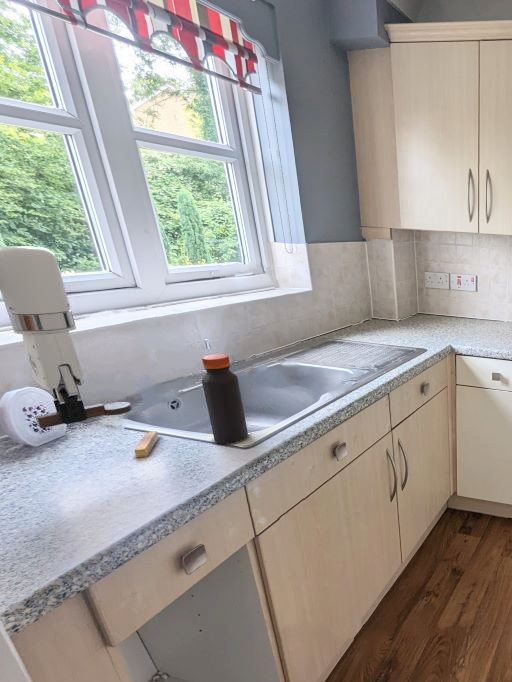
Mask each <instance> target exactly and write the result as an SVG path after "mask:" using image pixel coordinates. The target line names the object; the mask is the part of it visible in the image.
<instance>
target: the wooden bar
mask: <svg viewBox="0 0 512 682" xmlns="http://www.w3.org/2000/svg"><path fill="white" fill-rule="evenodd" d="M158 439H159V435H158V430H154V431H147V432H146V433H145V434H144V436H143V437H142V439H140V441H139V443H138V444H137V445H136V447H135V448H134V454H135V458H145V457H148V456H149V454H150V452H151V451H152V449H153V447H154V446H155V444H156V443H157V441H158Z"/></svg>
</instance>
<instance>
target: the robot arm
mask: <svg viewBox="0 0 512 682" xmlns="http://www.w3.org/2000/svg"><path fill="white" fill-rule="evenodd" d="M0 294H1V297H2V299H3V303H4V306H5V309H6V312H7V315H8V318H9V320H10V324H11V326H12V331H13V333H14V334H18V335H22V342H23V346H24V349H25V352H26V357H27V360H28V363H29V367H30V371H31V375H32V378H33V381H34V382H35V383H36V384H38V385H39V386H40V387H42V388H43V389H44V390H47V391H50V392H51V396H52V398H53V401H52V402H53V405H54V407H55V412H60V414H61V417H62V421H63V423H64V424H63V425H70V424H74V423H79V422H85V421H87V420H88V419H87V415H86V412H85V408H84V407H85V405H84V401H83V399H82V397H81V394H80V393H81V392H80V390H79V387H80V386H82V385H84V383H85V379H84V374H83V371H82V367H81V363H80V360H79V356H78V353H77V351H76V347H75V345H74V341H73V339H72V336H71V334H70V332H71V331H74V330H76V329H77V325H76V323H75V322H76V321H75V320H74V316H73V312H72V308H71V305H70V302H69V298H68V294H67V290H66V287H65V283H64V280H63V277H62V273H61V269H60V265H59V263H58V259H57V256H56V255H55V253H54V252H53V251H51V250H50V249H48V248H45V247H39V246H29V245H28V246H25V245H24V246H23V245H22V246H21V245H4V246H0Z"/></svg>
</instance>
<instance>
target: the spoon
mask: <svg viewBox="0 0 512 682" xmlns="http://www.w3.org/2000/svg"><path fill="white" fill-rule="evenodd" d="M84 408H85V412H86V415H87V420H88V419H93V418H98V417H103V416H117V415H123V414H126V413H128V412H131V411H132V404H131V402H128V401H116V402H110V403H107V404H103V403H101V402H99V403H95V404H91V405H86V406H85V405H84ZM35 420H36V423H37V426H38V427H39V429H41V430H42V429H45V428H50V427H51V428H52V427H55V426H60V425H65V424H64V423H63V421H62V417H61V414H60V412H57V411H55V412H50V413H45V414H39V415H36V416H35Z"/></svg>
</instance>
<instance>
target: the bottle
mask: <svg viewBox="0 0 512 682" xmlns="http://www.w3.org/2000/svg"><path fill="white" fill-rule="evenodd" d="M201 361H202V365H203V368H204V371H206V373H205V374H204V376H203V377H202V379H201V384H202V389H203V393H204V399H205V403H206V407H207V412H208V417H209V422H210V426H211V431H212V435H213V439H214V442H215V443H216V444H220V445H231V444H235V443H239V442H242V441H244V440H246V439H247V438H248V437H249V432H248V426H247V421H246V415H245V411H244V405H243V400H242V395H241V394H242V393H241V390H240V389H241V388H240V384H239V383H240V382H239V379H238V376H237V374H235V373H234V372H233V371H230V368H231V363H230V357H229V354H224V353H215V354H214V353H213V354H207V355H204V356H203V357H202V358H201Z"/></svg>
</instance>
